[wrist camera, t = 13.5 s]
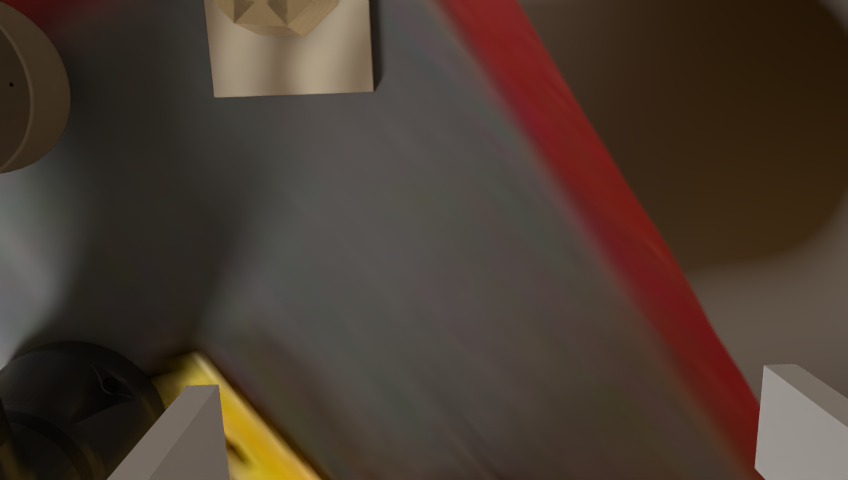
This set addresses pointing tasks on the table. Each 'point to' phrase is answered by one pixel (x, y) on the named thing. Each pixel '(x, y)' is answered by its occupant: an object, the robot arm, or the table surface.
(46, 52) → the bowl
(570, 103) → the table surface
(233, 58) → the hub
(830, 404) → the robot arm
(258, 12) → the collar
